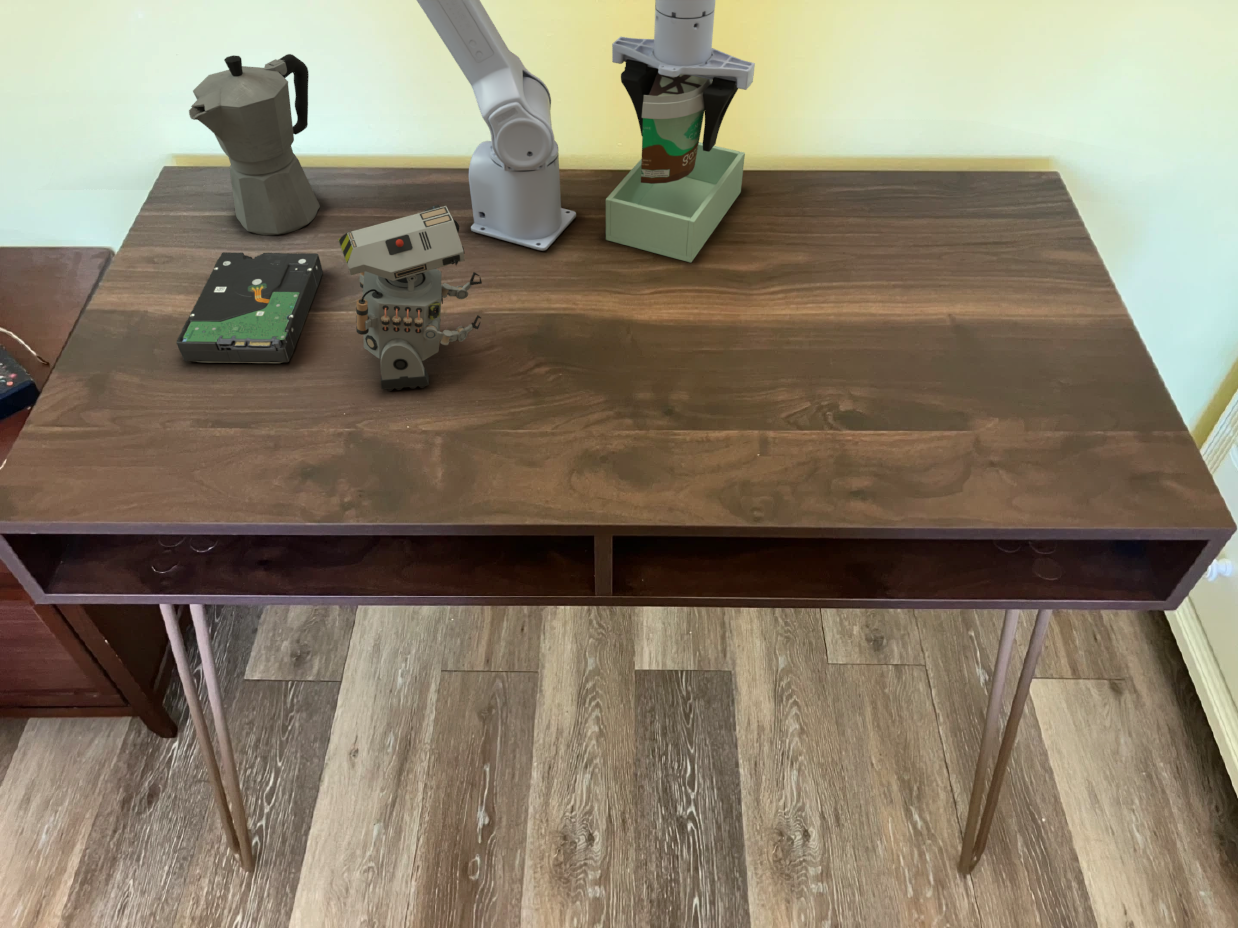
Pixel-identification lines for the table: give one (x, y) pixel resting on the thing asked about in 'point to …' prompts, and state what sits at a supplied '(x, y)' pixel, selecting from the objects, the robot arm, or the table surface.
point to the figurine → (405, 291)
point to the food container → (671, 127)
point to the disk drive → (251, 308)
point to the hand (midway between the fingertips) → (677, 139)
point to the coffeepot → (260, 141)
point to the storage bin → (675, 205)
